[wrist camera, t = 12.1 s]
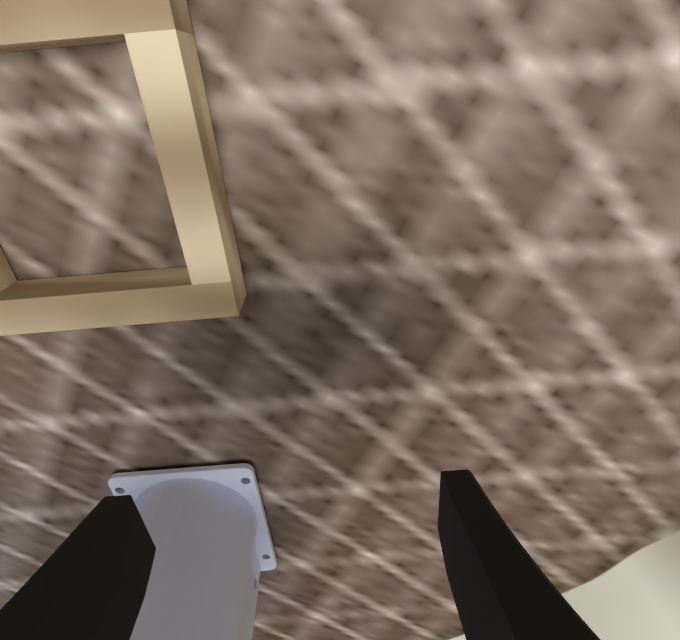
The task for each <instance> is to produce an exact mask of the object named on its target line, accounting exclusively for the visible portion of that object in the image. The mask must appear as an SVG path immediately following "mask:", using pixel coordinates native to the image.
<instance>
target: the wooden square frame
mask: <svg viewBox="0 0 680 640" xmlns="http://www.w3.org/2000/svg"><path fill="white" fill-rule="evenodd" d="M125 41H126V43H127V47H128V50H129V54H130V58H131V61H132V65H133V69H134V72H135V76H136V80H137V84H138V87H139V91H140V95H141V98H142V102H143V106H144V109H145V113H146V117H147V120H148V124H149V128H150V132H151V135H152V139H153V143H154V146H155V150H156V154H157V157H158V161H159V165H160V169H161V172H162V176H163V180H164V183H165V187H166V191H167V194H168V198H169V202H170V205H171V209H172V213H173V217H174V220H175V224H176V228H177V231H178V235H179V239H180V242H181V246H182V250H183V254H184V257H185V261H186V265H187V267H176V268H164V269H152V270H140V271H128V272H116V273H104V274H92V275H80V276H68V277H56V278H44V279H32V280H20V281H17V279H16V277H15V275H14V273H13V271H12V269H11V267H10V265H9V263H8V261H7V258H6V256H5V254H4V252H3V250H2V248H1V246H0V336H2V335H15V334H27V333H39V332H51V331H63V330H75V329H88V328H100V327H112V326H124V325H136V324H148V323H160V322H173V321H185V320H197V319H209V318H221V317H233V316H239V314H240V311H241V309H242V306H243V303H244V300H245V298H246V295H247V293H246V288H245V283H244V278H243V273H242V268H241V263H240V258H239V254H238V249H237V244H236V239H235V234H234V229H233V224H232V219H231V214H230V209H229V205H228V200H227V195H226V190H225V185H224V180H223V175H222V170H221V165H220V160H219V156H218V151H217V146H216V141H215V136H214V131H213V126H212V121H211V116H210V112H209V107H208V102H207V97H206V92H205V87H204V82H203V77H202V72H201V67H200V63H199V58H198V53H197V48H196V43H195V38H194V33H193V28H192V23H191V18H190V14H189V9H188V4H187V0H0V53H4V52H15V51H26V50H37V49H48V48H59V47H70V46H81V45H92V44H103V43H114V42H125Z"/></svg>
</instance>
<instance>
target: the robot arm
mask: <svg viewBox="0 0 680 640" xmlns="http://www.w3.org/2000/svg"><path fill="white" fill-rule="evenodd" d="M108 485H109V487H110V489H111V491H112V493H113V495H114V496H107V497H104V498H103V499H102V500H101V501H100V502H99V504H98V505H97V506H96V507H95V508H94V509H93V510H92V511H91V512H90V513H89V514H88V516H87V517H86V518H85V519H84V520H83V521H82V522H81V523H80V524H79V525H78V527H77V528H76V529H75V530H74V531H73V532H72V533H71V534H70V535H69V537H68V538H67V539H66V540H65V541H64V542H63V543H62V544H61V545H60V546H59V548H58V549H57V550H56V551H55V552H54V553H53V554H52V555H51V556H50V557H49V559H48V560H47V561H46V562H45V563H44V564H43V565H42V566H41V567H40V568H39V569H38V570H37V572H36V573H35V574H34V575H33V576H32V577H31V578H30V579H29V580H28V581H27V582H26V583H25V584H24V586H23V587H22V588H21V589H20V590H19V591H18V592H17V593H16V594H15V595H14V596H13V597H12V598H11V599H10V601H9V602H8V603H7V604H6V605H5V606H4V607H3V608H2V609H1V610H0V640H252V634H253V627H254V619H255V612H256V604H257V596H258V589H259V581H260V574H261V571H268V570H273V569H275V568H276V565H277V559H276V555H275V551H274V547H273V543H272V539H271V535H270V531H269V527H268V523H267V519H266V515H265V511H264V507H263V503H262V499H261V495H260V491H259V487H258V483H257V479H256V475H255V471H254V468H253V466H251V465H250V464H247V463H239V464H227V465H214V466H201V467H188V468H175V469H162V470H149V471H137V472H124V473H115V474H112V475H111V477H110V478H109V480H108ZM438 531H439V537H440V542H441V547H442V552H443V557H444V562H445V567H446V572H447V576H448V580H449V583H450V586H451V590H452V593H453V597H454V600H455V603H456V607H457V610H458V614H459V617H460V620H461V624H462V627H463V630H464V634H465V637H466V640H600V639H599V638H598V637H597V635H596V634H595V633H594V632H593V631H592V630H591V629H590V628H589V627H588V626H587V624H586V623H585V622H584V621H583V620H582V619H581V618H580V616H579V615H578V614H577V613H576V612H575V611H574V610H573V608H572V607H571V606H570V605H569V603H568V602H567V601H566V600H565V599H564V598H563V596H562V595H561V594H560V593H559V592H558V590H557V589H556V588H555V587H554V586H553V584H552V583H551V582H550V581H549V579H548V578H547V577H546V576H545V574H544V573H543V572H542V571H541V569H540V568H539V567H538V566H537V564H536V563H535V562H534V560H533V559H532V558H531V557H530V555H529V554H528V553H527V551H526V550H525V549H524V547H523V546H522V545H521V544H520V542H519V541H518V540H517V538H516V537H515V536H514V534H513V533H512V532H511V530H510V529H509V527H508V526H507V525H506V523H505V522H504V520H503V519H502V518H501V516H500V515H499V513H498V512H497V511H496V509H495V508H494V506H493V505H492V503H491V502H490V500H489V499H488V497H487V496H486V494H485V493H484V491H483V490H482V488H481V487H480V485H479V483H478V482H477V480H476V479H475V477H474V475H473V474H472V473H471V472H470V471H469V470H454V471H441V480H440V497H439V515H438Z"/></svg>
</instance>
